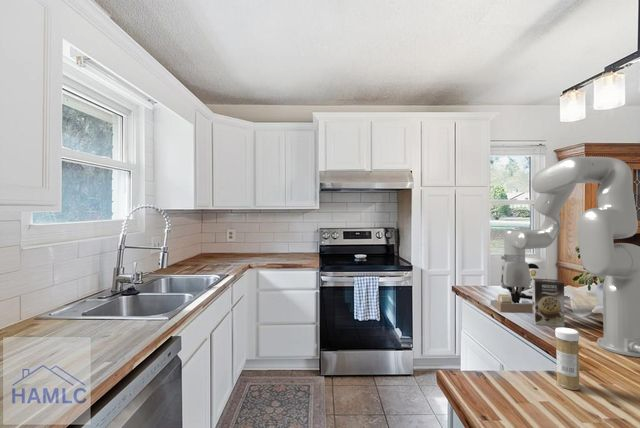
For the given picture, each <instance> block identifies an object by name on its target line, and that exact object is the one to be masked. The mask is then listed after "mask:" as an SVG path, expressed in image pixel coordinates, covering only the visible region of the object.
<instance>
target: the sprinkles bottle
mask: <svg viewBox="0 0 640 428" xmlns="http://www.w3.org/2000/svg"><path fill="white" fill-rule="evenodd" d="M554 333H555V335H554V336H555V338H556V343H555V344H556V378H557V380H556V384H557V385H558V386H559V387H562V388H564V389H566V390H569V391H570V390H571V391H578V390H580V389H581V385H580V356H579V355H580V354H579V353H580V352H579V340H580V333H579V331H578V330H576V329H574V328H568V327H565V326H564V327H556V328H555V332H554Z"/></svg>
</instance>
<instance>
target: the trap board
mask: <svg viewBox="0 0 640 428" xmlns="http://www.w3.org/2000/svg"><path fill="white" fill-rule="evenodd" d="M490 306H491V307H493V308H494V309H496V310H497V311H498V312H499V313H518V314H519V313H520V314H523V313H524V314H525V313H526V314H532V303H531V302H529V301H528V300H521V303H520V302H519V303H514V302H512V304H505V303H500V302H499V301H498V299H494V300H490Z"/></svg>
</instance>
